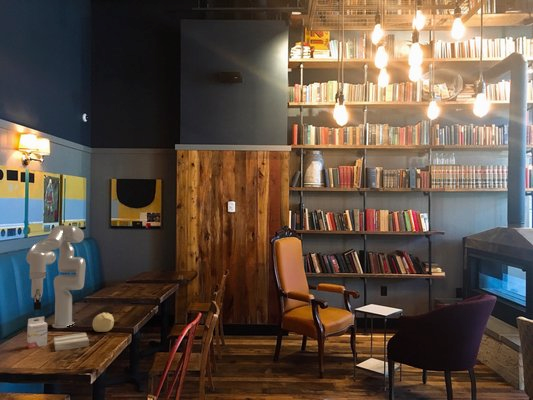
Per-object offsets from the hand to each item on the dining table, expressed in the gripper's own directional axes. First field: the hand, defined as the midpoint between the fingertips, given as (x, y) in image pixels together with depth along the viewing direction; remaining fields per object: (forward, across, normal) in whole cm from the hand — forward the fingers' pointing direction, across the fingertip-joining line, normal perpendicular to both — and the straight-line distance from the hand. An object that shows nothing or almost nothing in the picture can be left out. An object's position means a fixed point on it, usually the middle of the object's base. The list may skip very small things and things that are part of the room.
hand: (37, 307), depth 224 cm
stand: (+20, +5, +16) cm, 27 cm away
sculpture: (+20, -13, +35) cm, 43 cm away
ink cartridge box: (+21, -1, 0) cm, 21 cm away
